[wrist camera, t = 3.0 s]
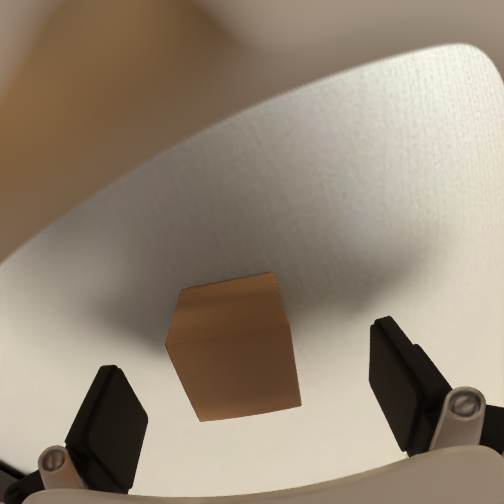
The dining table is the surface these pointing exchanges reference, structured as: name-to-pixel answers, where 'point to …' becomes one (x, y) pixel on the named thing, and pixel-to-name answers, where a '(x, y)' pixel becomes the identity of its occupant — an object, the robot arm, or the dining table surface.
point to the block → (234, 348)
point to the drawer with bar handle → (5, 483)
